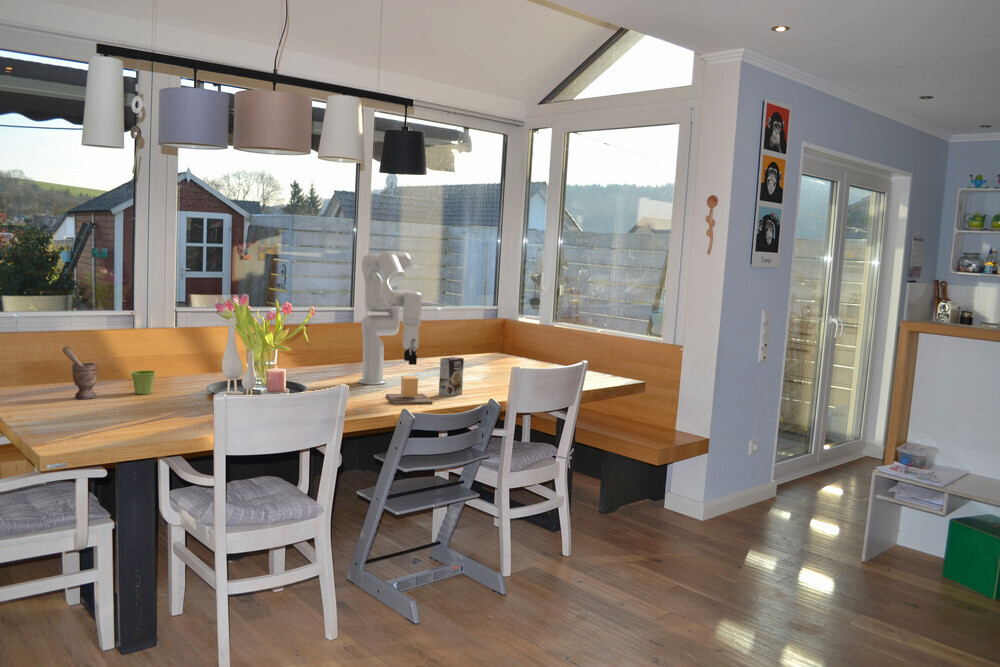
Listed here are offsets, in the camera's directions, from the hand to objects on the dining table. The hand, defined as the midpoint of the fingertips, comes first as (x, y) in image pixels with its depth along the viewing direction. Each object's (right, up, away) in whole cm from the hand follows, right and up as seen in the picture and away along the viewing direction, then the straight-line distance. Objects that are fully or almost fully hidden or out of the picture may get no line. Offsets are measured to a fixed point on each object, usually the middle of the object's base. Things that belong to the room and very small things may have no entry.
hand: (410, 362), depth 320 cm
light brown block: (-1, -14, +1) cm, 14 cm away
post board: (-1, -16, +2) cm, 16 cm away
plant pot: (-106, -12, -11) cm, 107 cm away
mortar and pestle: (-124, -13, -25) cm, 127 cm away
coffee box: (+16, -15, +19) cm, 29 cm away
